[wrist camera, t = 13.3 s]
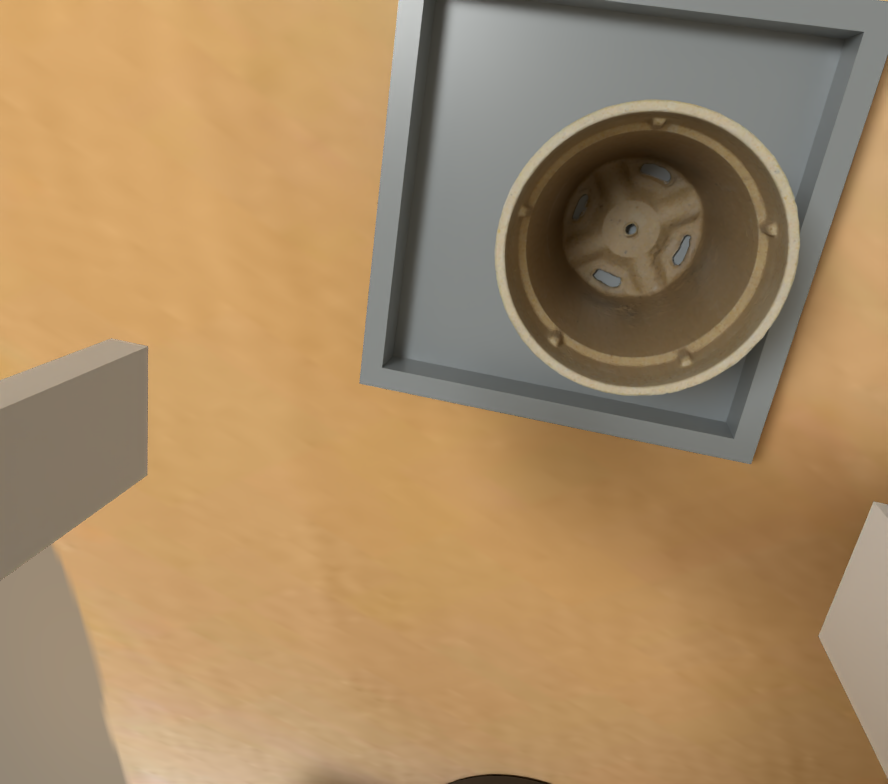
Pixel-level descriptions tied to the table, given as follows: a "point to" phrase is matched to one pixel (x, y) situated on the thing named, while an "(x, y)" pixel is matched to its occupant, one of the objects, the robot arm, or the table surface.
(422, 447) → the table surface
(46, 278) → the table surface
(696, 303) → the flower pot
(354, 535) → the table surface
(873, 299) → the table surface
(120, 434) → the robot arm
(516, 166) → the tray
